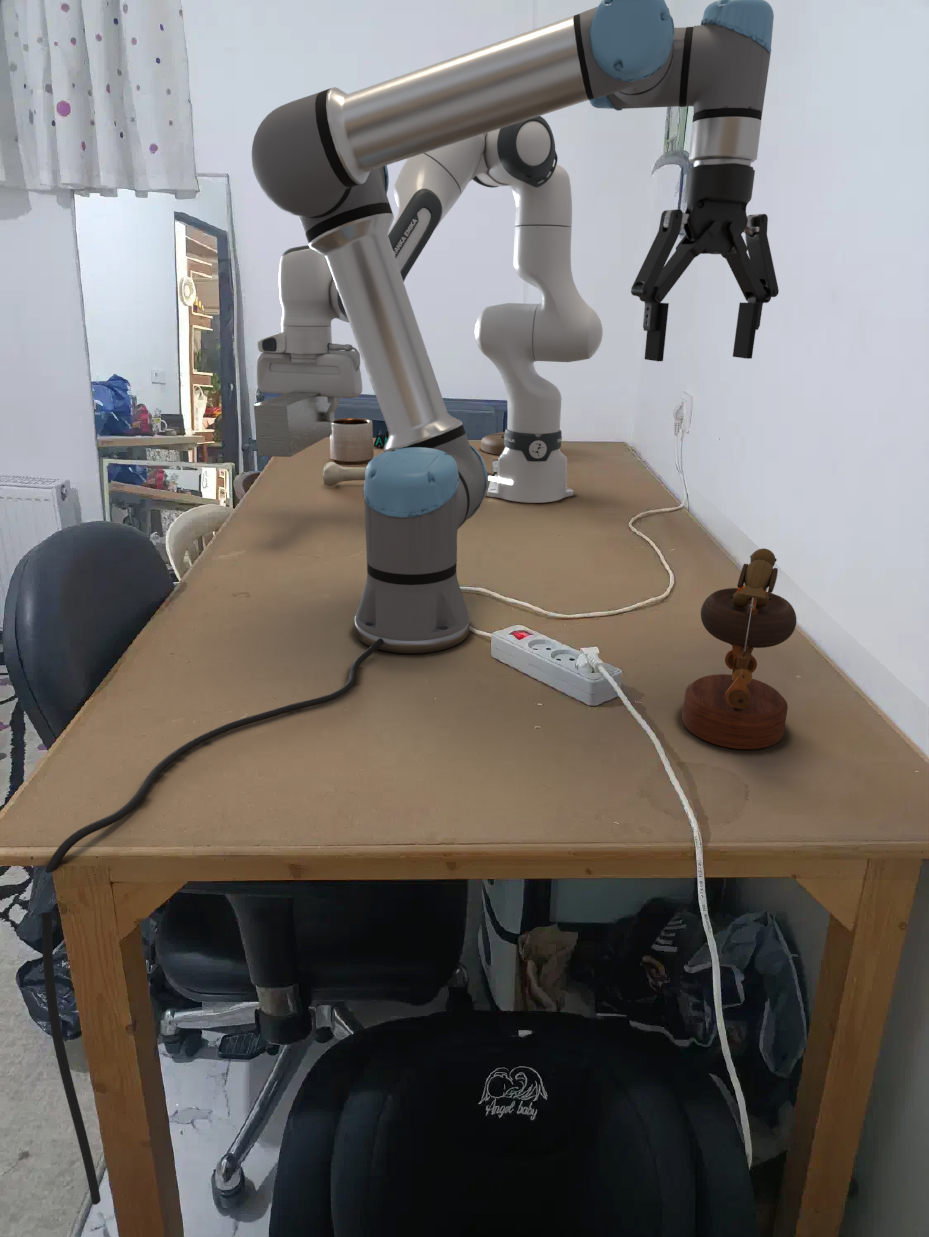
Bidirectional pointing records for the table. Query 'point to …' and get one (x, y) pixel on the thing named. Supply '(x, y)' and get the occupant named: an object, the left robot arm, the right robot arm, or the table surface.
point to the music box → (742, 662)
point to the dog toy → (341, 473)
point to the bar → (290, 423)
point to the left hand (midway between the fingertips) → (698, 359)
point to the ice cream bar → (493, 443)
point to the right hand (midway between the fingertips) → (311, 420)
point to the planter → (351, 440)
